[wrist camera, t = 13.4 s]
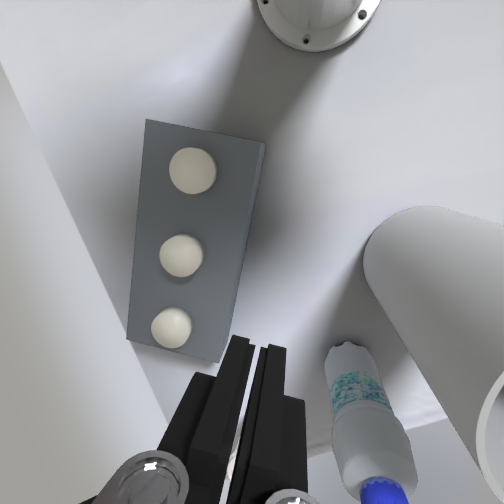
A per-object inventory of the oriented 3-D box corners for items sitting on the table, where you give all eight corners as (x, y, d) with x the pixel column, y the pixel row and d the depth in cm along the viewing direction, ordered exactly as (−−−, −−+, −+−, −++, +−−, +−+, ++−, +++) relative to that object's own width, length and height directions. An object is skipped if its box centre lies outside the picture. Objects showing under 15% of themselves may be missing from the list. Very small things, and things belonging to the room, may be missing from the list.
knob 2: (193, 147, 36) (172, 143, 30) (229, 154, 35) (216, 152, 29) (187, 185, 37) (166, 189, 31) (223, 193, 37) (209, 198, 31)
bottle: (322, 380, 42) (343, 556, 23) (319, 335, 41) (340, 486, 22) (374, 380, 41) (441, 564, 22) (373, 334, 40) (445, 491, 20)
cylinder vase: (372, 199, 35) (530, 270, 11) (490, 211, 34) (951, 318, 10) (353, 300, 39) (443, 516, 15) (459, 314, 37) (747, 577, 13)
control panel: (165, 125, 36) (145, 118, 31) (266, 145, 35) (261, 142, 31) (144, 320, 44) (126, 339, 39) (227, 341, 43) (218, 363, 38)
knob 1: (174, 288, 41) (153, 309, 35) (206, 296, 41) (190, 318, 35) (170, 317, 42) (149, 342, 36) (201, 325, 42) (185, 352, 36)
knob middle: (183, 222, 38) (161, 232, 32) (217, 230, 38) (202, 242, 32) (178, 255, 40) (157, 271, 34) (211, 263, 39) (196, 281, 33)
